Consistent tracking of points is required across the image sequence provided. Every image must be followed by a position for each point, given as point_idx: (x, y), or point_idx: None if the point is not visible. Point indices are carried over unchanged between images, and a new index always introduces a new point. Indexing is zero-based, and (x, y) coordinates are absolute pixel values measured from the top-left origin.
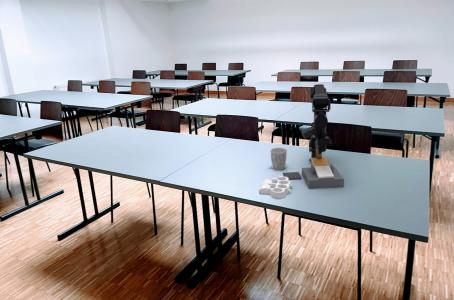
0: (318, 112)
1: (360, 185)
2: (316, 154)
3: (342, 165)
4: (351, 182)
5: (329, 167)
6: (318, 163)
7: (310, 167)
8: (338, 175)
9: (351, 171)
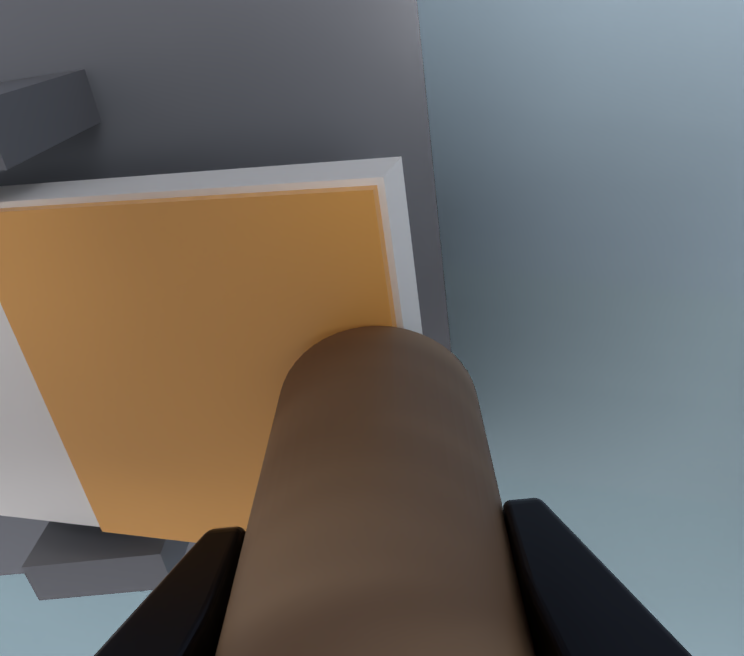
0: None
1: (85, 637)
2: (305, 426)
3: (737, 578)
4: None
5: (47, 511)
6: (102, 336)
7: (410, 93)
8: (39, 536)
9: None
